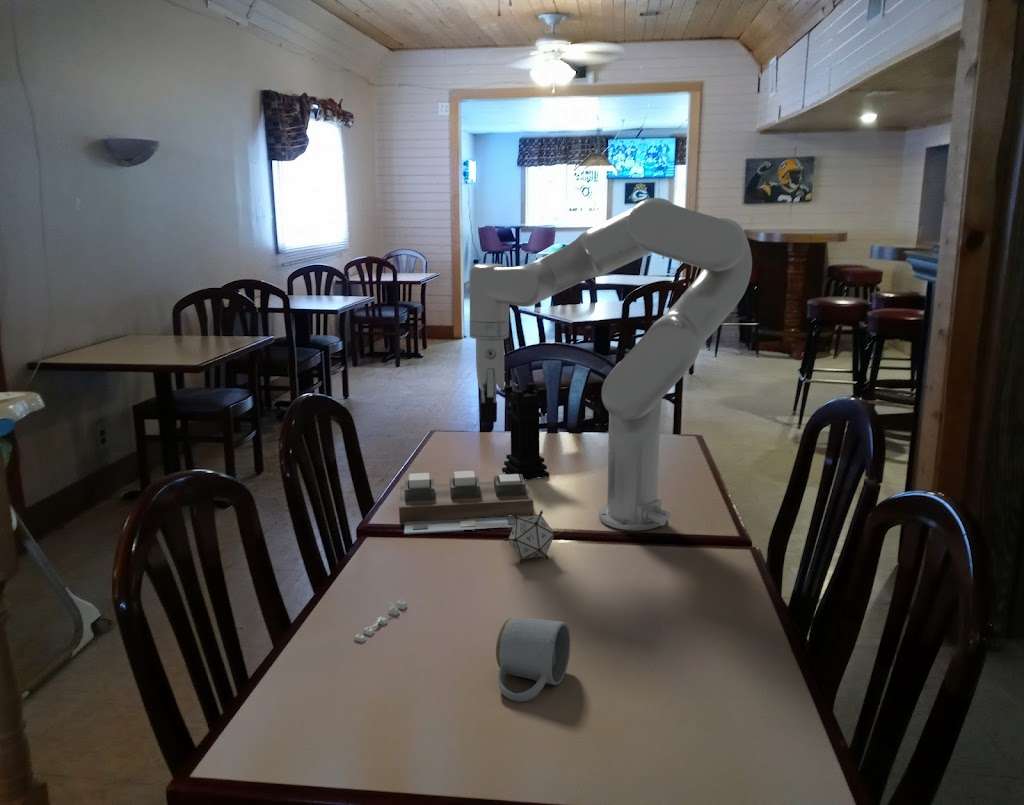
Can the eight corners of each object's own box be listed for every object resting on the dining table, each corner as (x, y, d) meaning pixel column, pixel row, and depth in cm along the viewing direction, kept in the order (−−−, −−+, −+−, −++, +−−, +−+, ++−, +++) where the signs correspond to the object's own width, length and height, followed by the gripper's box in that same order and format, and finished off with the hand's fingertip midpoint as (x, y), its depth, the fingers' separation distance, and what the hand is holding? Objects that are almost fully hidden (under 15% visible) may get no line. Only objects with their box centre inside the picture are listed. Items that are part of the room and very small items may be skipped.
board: (537, 526, 152) (537, 499, 150) (398, 534, 149) (397, 507, 148) (525, 493, 169) (525, 469, 168) (401, 499, 166) (399, 475, 165)
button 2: (520, 491, 160) (520, 480, 160) (500, 492, 160) (500, 481, 159) (518, 485, 164) (518, 473, 164) (498, 486, 164) (498, 474, 163)
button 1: (429, 490, 158) (429, 479, 158) (409, 491, 158) (408, 480, 157) (429, 484, 162) (429, 472, 162) (409, 485, 162) (409, 473, 161)
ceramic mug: (514, 652, 110) (513, 602, 108) (571, 664, 107) (571, 612, 105) (483, 697, 100) (481, 643, 98) (545, 712, 97) (544, 655, 95)
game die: (539, 581, 138) (552, 552, 131) (494, 562, 139) (504, 532, 131) (555, 540, 144) (569, 510, 136) (512, 522, 145) (522, 491, 137)
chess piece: (501, 471, 184) (500, 385, 179) (533, 466, 187) (532, 382, 182) (516, 481, 177) (515, 393, 172) (549, 476, 180) (549, 389, 175)
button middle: (475, 488, 159) (475, 477, 159) (455, 489, 159) (454, 478, 158) (474, 481, 163) (473, 470, 162) (454, 482, 163) (454, 471, 162)
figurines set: (364, 646, 113) (362, 627, 112) (347, 641, 114) (346, 623, 113) (411, 606, 123) (410, 589, 122) (395, 603, 124) (394, 586, 124)
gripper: (512, 335, 147) (510, 431, 152) (505, 323, 162) (504, 411, 166) (471, 335, 146) (471, 432, 151) (468, 323, 161) (467, 411, 165)
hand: (488, 421), depth 159 cm, fingers closed
